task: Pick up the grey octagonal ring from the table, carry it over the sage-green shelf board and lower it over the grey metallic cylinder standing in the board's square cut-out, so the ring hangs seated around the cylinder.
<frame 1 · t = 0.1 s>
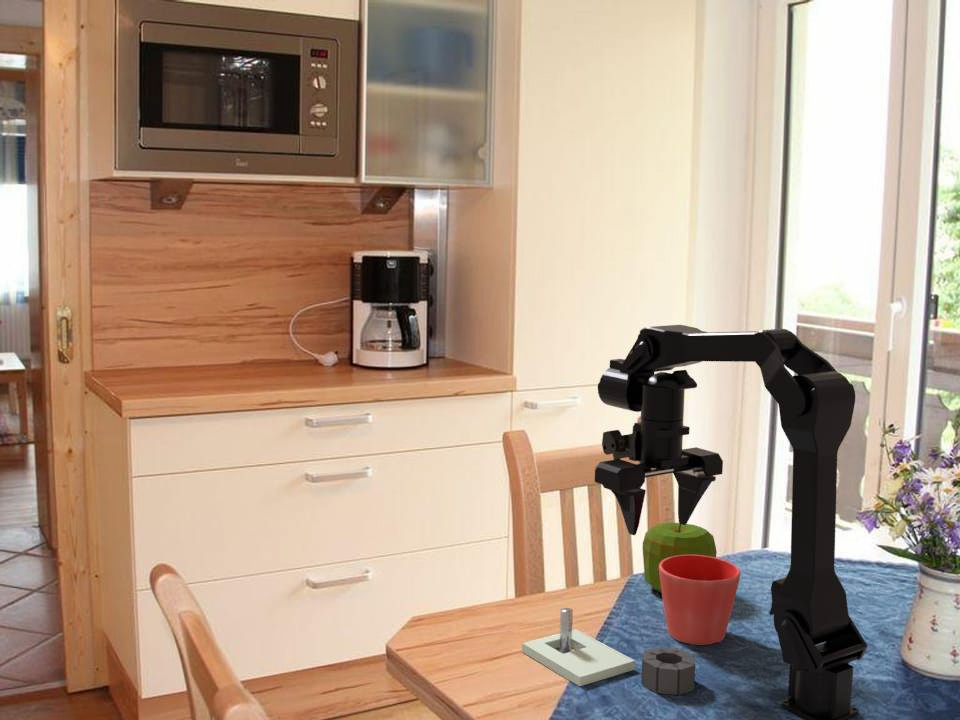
hand: (657, 529, 146), 15 cm above the table, fingers open, 9 cm apart
flower pot: (696, 635, 147), on the table
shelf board: (577, 660, 138), on the table
apple: (677, 590, 164), on the table
grey metallic cylinder: (565, 653, 140), resting in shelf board
grey octagonal ring: (667, 682, 132), on the table
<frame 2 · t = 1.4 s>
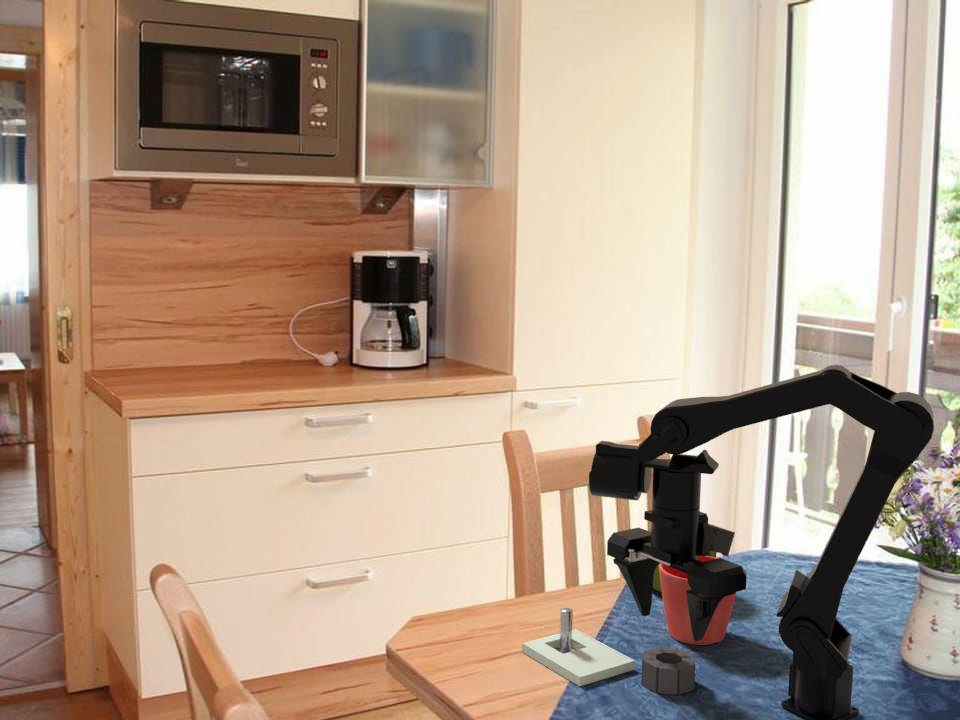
hand: (671, 627, 131), 7 cm above the table, fingers open, 9 cm apart
nothing on the table moved.
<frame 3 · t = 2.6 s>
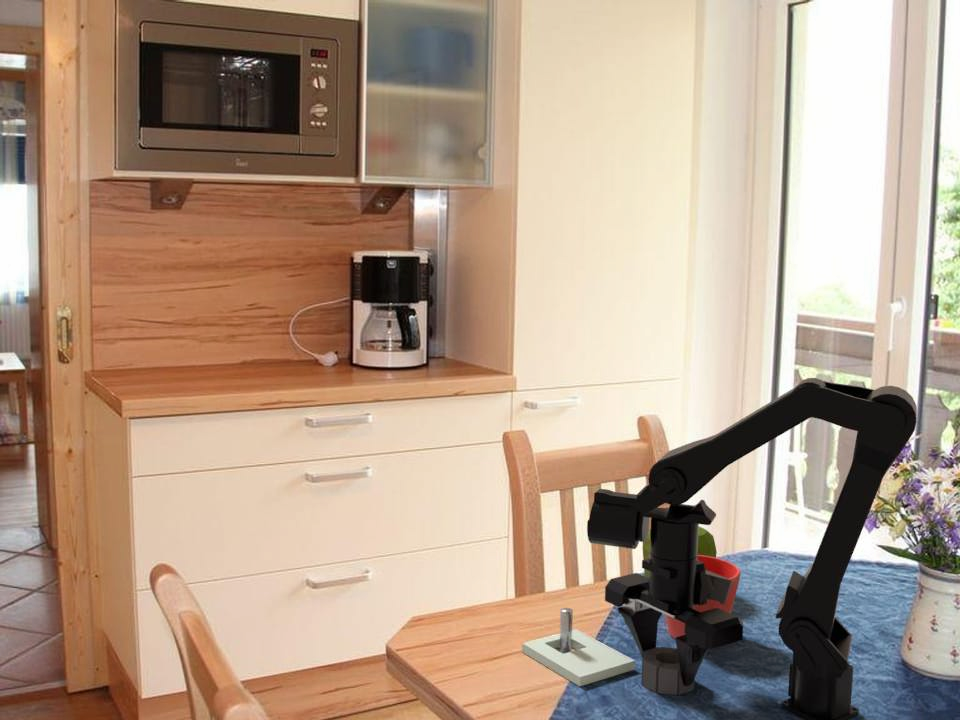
hand: (668, 674, 131), 1 cm above the table, fingers closed on grey octagonal ring, 6 cm apart
grey octagonal ring: (667, 682, 132), on the table, touching gripper
everything else where it was.
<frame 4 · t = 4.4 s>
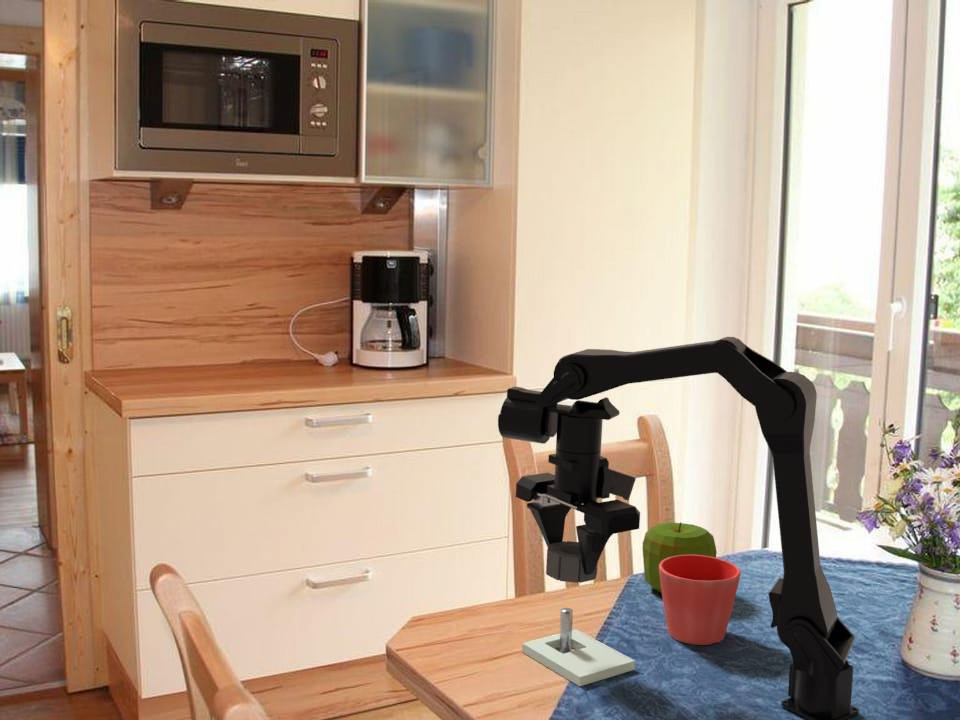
hand: (572, 566, 137), 12 cm above the table, fingers closed on grey octagonal ring, 6 cm apart
grey octagonal ring: (571, 573, 138), point 11 cm above the table, touching gripper
everything else where it was.
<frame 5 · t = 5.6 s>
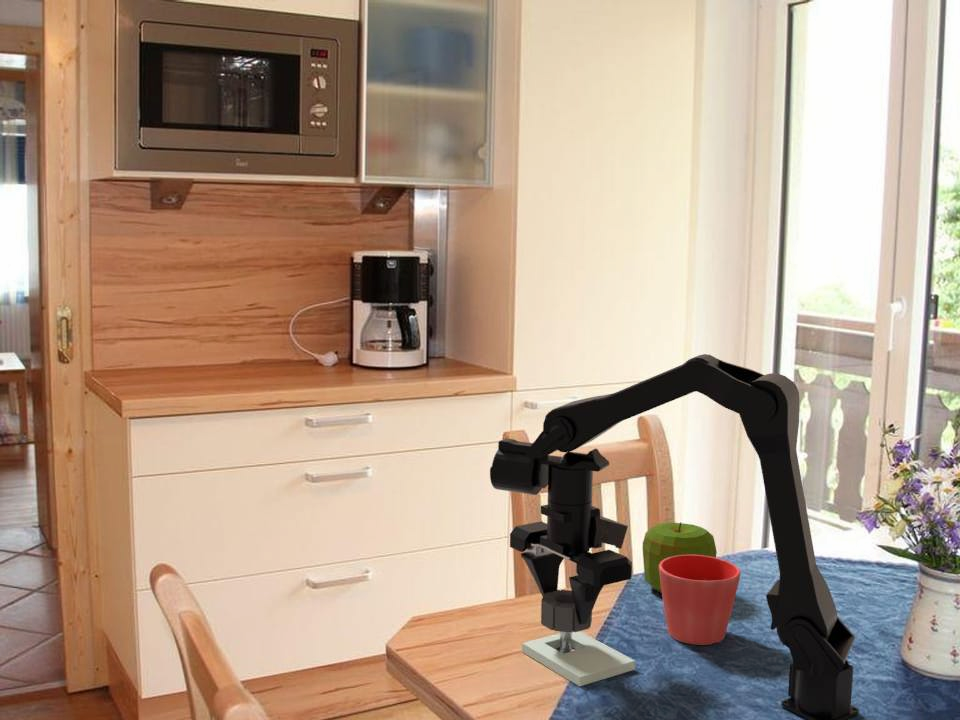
hand: (566, 615, 139), 5 cm above the table, fingers closed on grey octagonal ring, 6 cm apart
grey octagonal ring: (566, 622, 139), point 4 cm above the table, touching gripper
everything else where it was.
when the fingers open (4 cm above the table, at t = 6.3 s): grey octagonal ring drops 2 cm, resting on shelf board.
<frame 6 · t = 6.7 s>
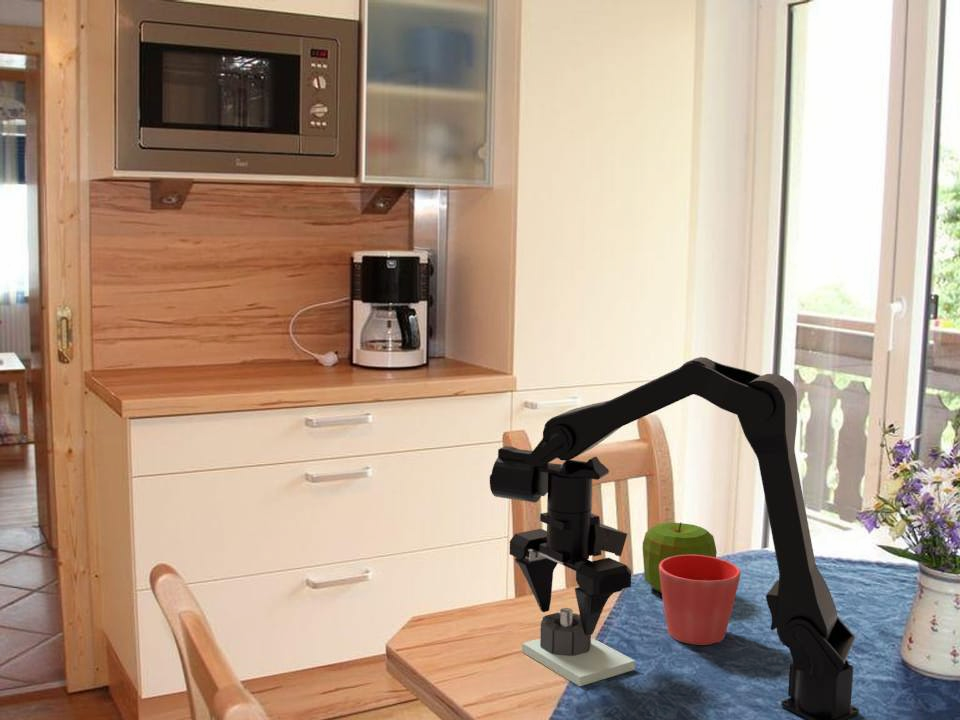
hand: (566, 622, 139), 4 cm above the table, fingers open, 9 cm apart
grey octagonal ring: (565, 645, 139), point 1 cm above the table, touching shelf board
everything else where it was.
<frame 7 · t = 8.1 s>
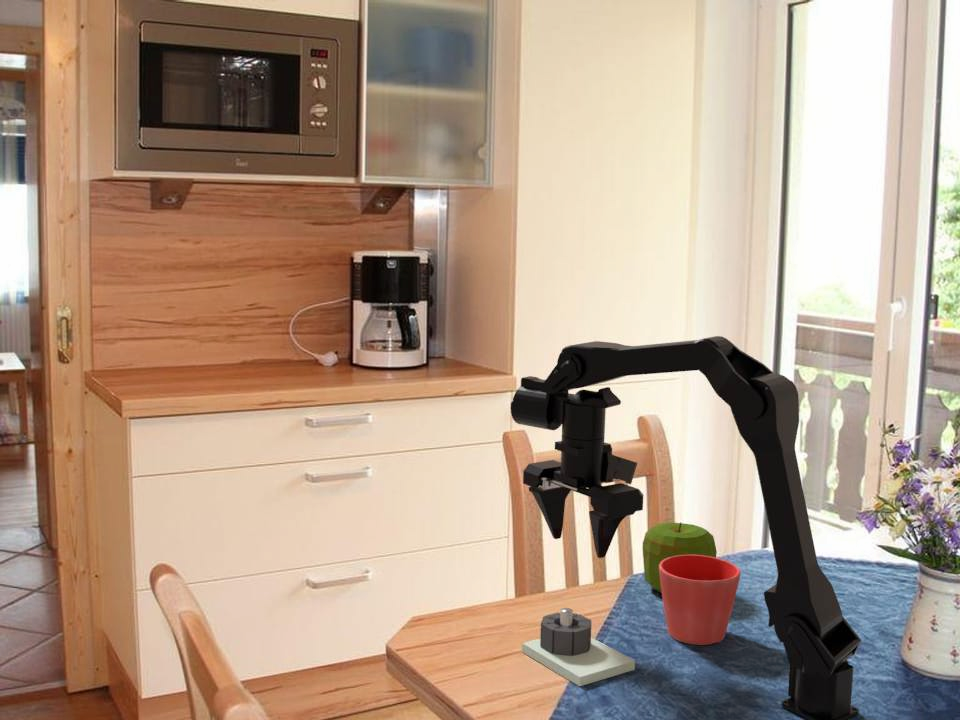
hand: (578, 547, 144), 12 cm above the table, fingers open, 9 cm apart
nothing on the table moved.
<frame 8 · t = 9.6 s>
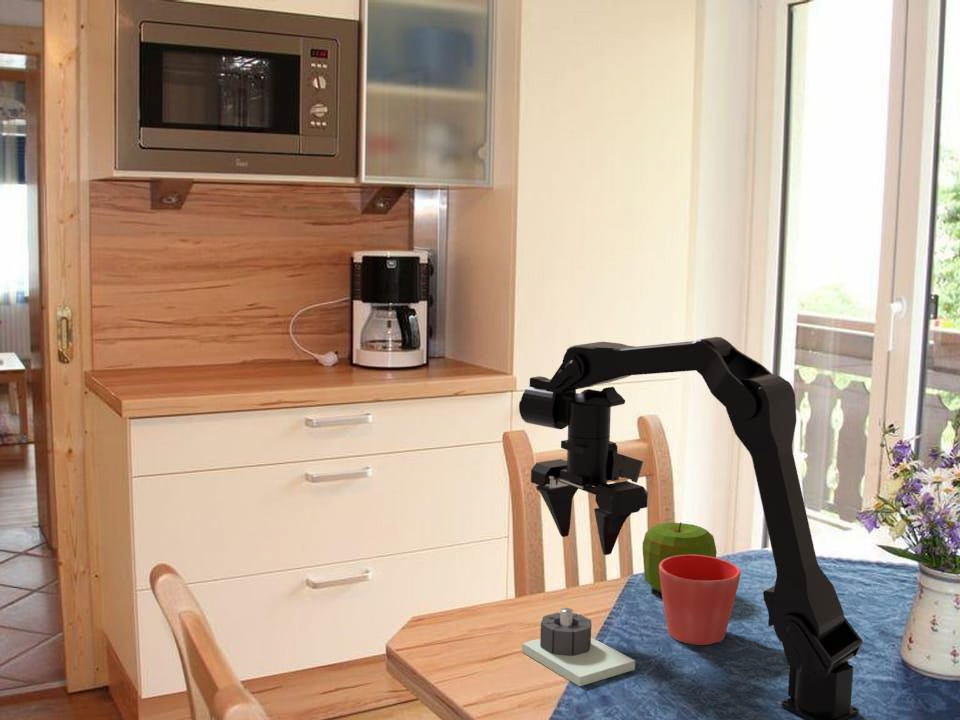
hand: (585, 545, 147), 12 cm above the table, fingers open, 9 cm apart
nothing on the table moved.
at the end: grey octagonal ring 0.0 cm off-centre on the grey metallic cylinder, point 1.2 cm above the grey metallic cylinder's base; the gripper is holding nothing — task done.
